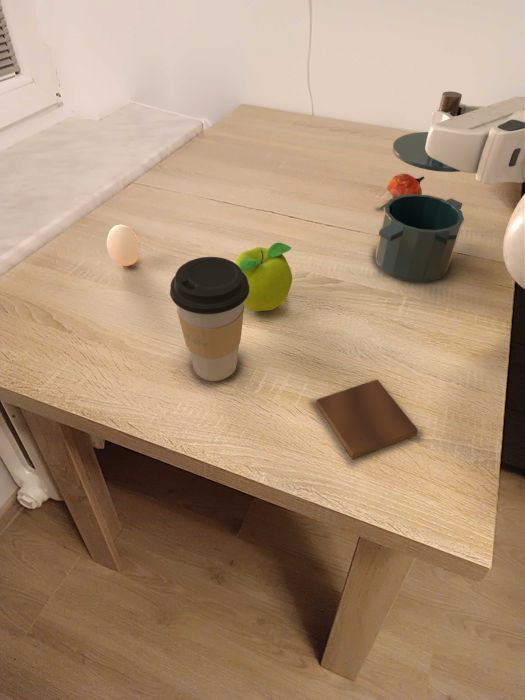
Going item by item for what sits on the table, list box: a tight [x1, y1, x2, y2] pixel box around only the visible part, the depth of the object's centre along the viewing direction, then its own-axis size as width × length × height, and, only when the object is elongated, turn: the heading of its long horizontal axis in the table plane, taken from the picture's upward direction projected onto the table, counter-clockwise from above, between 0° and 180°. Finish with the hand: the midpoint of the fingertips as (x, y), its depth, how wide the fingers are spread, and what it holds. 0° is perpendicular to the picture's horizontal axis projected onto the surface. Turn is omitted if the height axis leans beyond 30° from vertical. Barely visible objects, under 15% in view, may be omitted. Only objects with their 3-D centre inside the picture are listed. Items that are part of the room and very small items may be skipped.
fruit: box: [233, 242, 293, 312], centre depth 75 cm, size 9×9×10 cm
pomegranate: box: [379, 173, 425, 210], centre depth 99 cm, size 7×7×10 cm
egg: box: [106, 224, 141, 267], centre depth 84 cm, size 5×5×7 cm
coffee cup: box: [169, 256, 249, 382], centre depth 63 cm, size 9×9×15 cm
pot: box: [375, 194, 465, 283], centre depth 84 cm, size 12×18×10 cm
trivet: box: [315, 379, 419, 460], centre depth 62 cm, size 9×9×1 cm
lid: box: [391, 91, 463, 173], centre depth 72 cm, size 13×13×9 cm
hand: (444, 112), depth 71 cm, fingers closed on lid, 2 cm apart
